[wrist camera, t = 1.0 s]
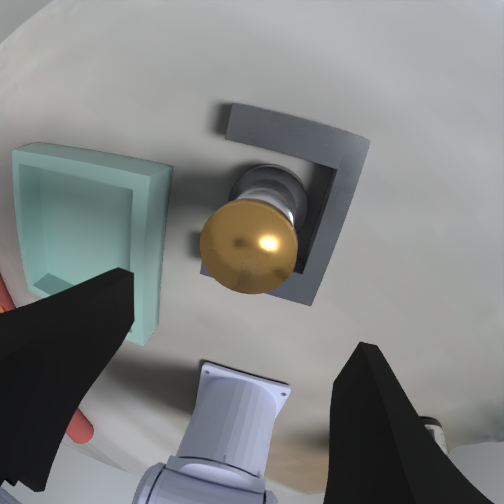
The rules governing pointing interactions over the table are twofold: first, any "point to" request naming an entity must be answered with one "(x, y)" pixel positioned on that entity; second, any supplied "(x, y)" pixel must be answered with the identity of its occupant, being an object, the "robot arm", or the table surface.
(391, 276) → the table surface
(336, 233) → the bracket
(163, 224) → the tray
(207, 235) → the glass jar
